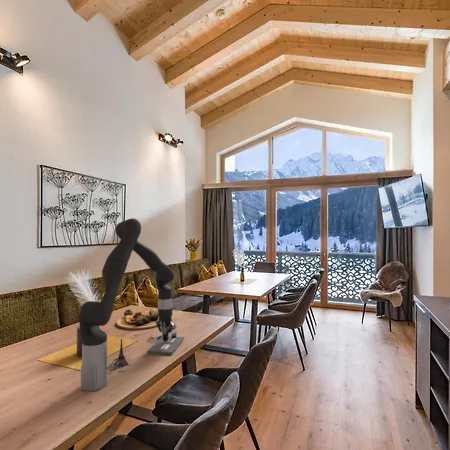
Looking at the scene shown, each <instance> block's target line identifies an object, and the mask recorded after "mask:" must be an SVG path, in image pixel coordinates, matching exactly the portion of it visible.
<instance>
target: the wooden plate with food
mask: <svg viewBox="0 0 450 450" xmlns="http://www.w3.org/2000/svg"><path fill="white" fill-rule="evenodd" d="M123 315H124V316H122V317H119V318H118V319H117V320H116V322H115V326H116V327H117V328H118V329H120V330H127V331H144V330H150V329H155V328H158V327H157V325H156V321H158V320H159V317H158V310H156V309H155V308H154V307H153V308H152V307H151V309H149V311H148V313H147V312H143V311H137V312H133V310H132V309H130V308H128V309H126V310H125V311H124V313H123Z"/></svg>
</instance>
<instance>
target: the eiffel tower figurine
mask: <svg viewBox="0 0 450 450" xmlns="http://www.w3.org/2000/svg"><path fill="white" fill-rule="evenodd" d="M122 338H123V337H122V336H121V339H120V346H119V347H120V350H119V354H118V357H116V358H114V359H113V361H112V362H111V363H109V365H107V372H114V371H115V372H116V370H117V369H121V368H124V367H127V366H130V364H129V363H128V361H127V360H126V357H125V355H124V351H123V350H124V349H123V339H122ZM125 372H126V371H124V370H122V371H120V370H118V371H117V373H125Z"/></svg>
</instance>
